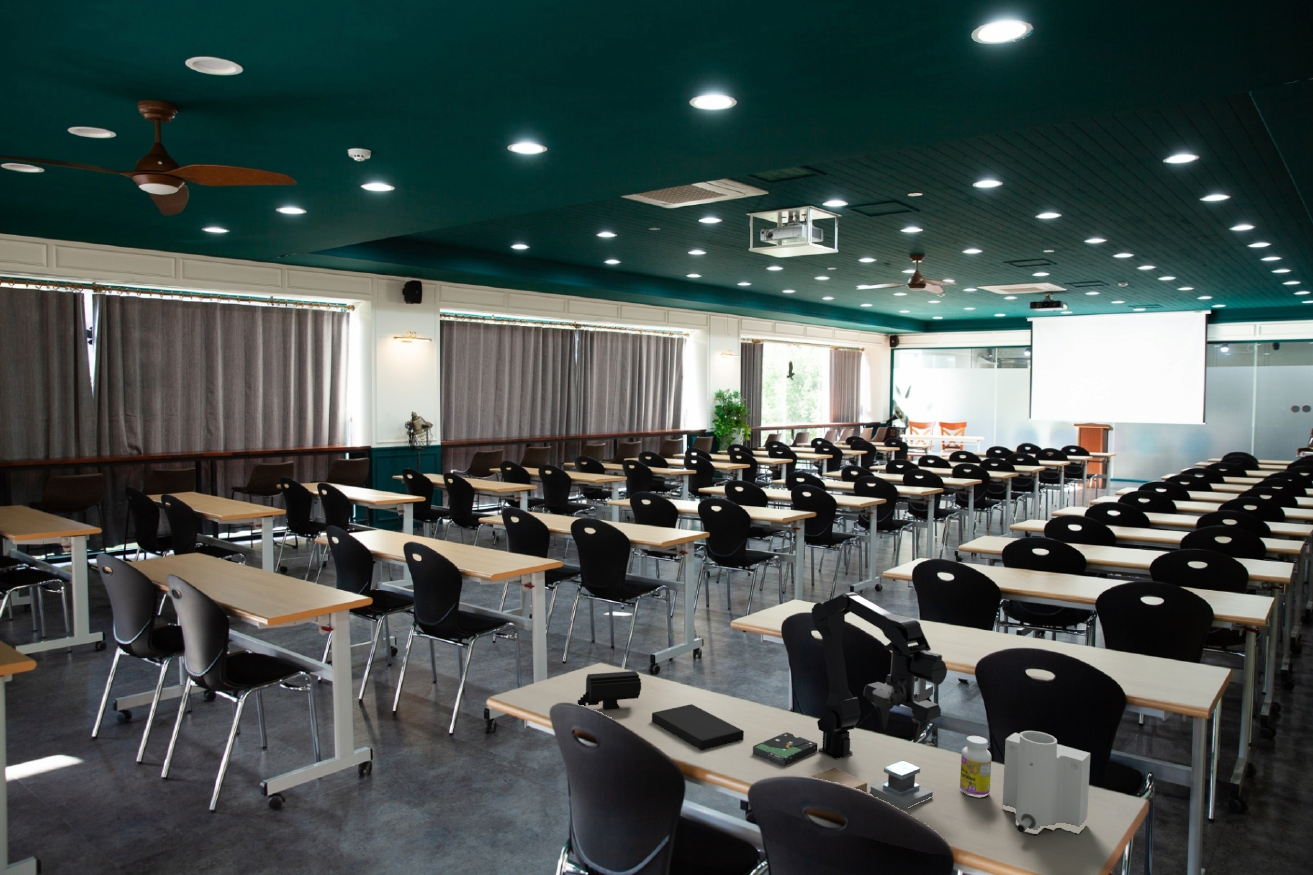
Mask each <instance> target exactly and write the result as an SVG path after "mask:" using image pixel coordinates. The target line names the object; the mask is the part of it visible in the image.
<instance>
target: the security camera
mask: <svg viewBox="0 0 1313 875" xmlns="http://www.w3.org/2000/svg"><path fill="white" fill-rule="evenodd" d="M641 680H642V679H641V677H640V674H638V672H637V671H636V670H632V671H631V670H630V671H614V672H601V673H587V675H586V678H585V693H584V694H582V696H581V697H580V699H578V700H577V704H579V705H584V706H598V705H599V704H600V703H601V702H602V709H603V710H604V711H612V710H615V711H616V710H620V709H621V708H620V707H621V706H620V705H619V703H618V701H621V700H622V701H623V700H633V699H639V697H640V695H641V691H642V681H641Z"/></svg>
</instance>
